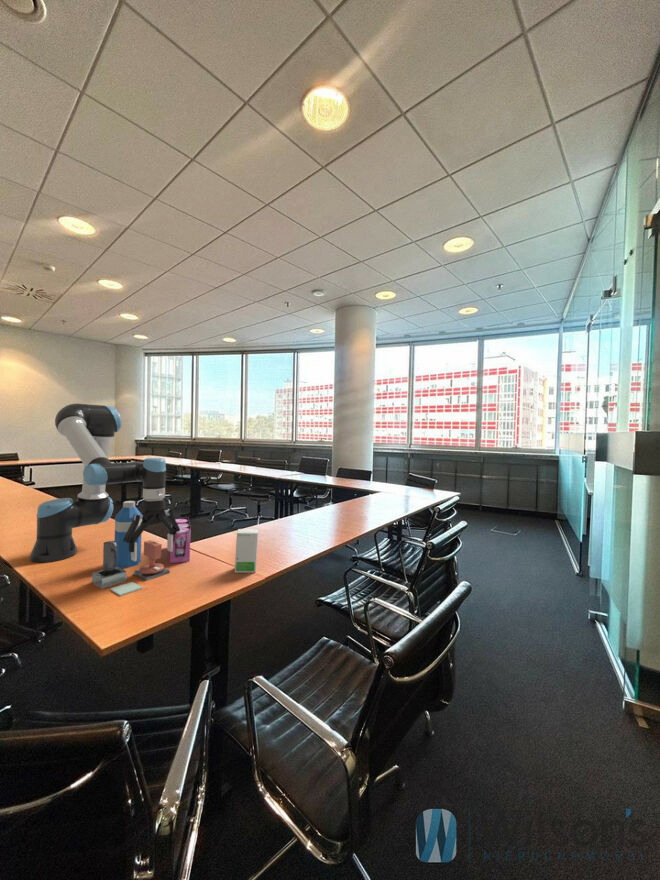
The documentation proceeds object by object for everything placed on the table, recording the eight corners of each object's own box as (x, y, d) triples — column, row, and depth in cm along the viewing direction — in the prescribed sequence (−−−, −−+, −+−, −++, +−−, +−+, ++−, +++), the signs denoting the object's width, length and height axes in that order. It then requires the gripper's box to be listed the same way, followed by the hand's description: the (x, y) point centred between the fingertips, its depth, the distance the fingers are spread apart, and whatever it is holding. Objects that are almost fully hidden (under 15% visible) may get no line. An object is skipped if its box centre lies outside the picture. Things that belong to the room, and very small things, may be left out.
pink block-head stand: (135, 570, 129) (136, 543, 129) (156, 564, 135) (157, 538, 135) (147, 576, 124) (148, 548, 124) (168, 569, 130) (169, 542, 130)
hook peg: (100, 582, 121) (101, 542, 121) (112, 578, 124) (113, 540, 124) (107, 586, 118) (108, 546, 117) (120, 583, 121) (121, 543, 121)
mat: (110, 590, 115) (110, 588, 115) (132, 583, 121) (132, 581, 121) (120, 596, 111) (120, 594, 111) (142, 588, 117) (142, 587, 117)
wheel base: (133, 574, 129) (133, 570, 129) (157, 567, 136) (157, 563, 136) (145, 580, 123) (146, 577, 123) (169, 572, 131) (169, 569, 131)
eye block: (91, 582, 120) (92, 572, 120) (116, 575, 127) (116, 566, 127) (101, 589, 116) (101, 578, 116) (126, 581, 122) (126, 571, 122)
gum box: (190, 562, 142) (191, 530, 142) (169, 565, 139) (170, 531, 139) (188, 545, 164) (189, 516, 164) (170, 546, 161) (171, 517, 160)
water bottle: (128, 569, 133) (130, 504, 133) (107, 566, 135) (109, 503, 135) (145, 560, 142) (147, 500, 142) (126, 558, 144) (128, 499, 144)
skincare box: (234, 573, 133) (235, 533, 132) (236, 566, 139) (237, 528, 139) (256, 572, 134) (257, 532, 134) (257, 566, 140) (258, 528, 140)
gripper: (123, 505, 117) (122, 567, 117) (189, 496, 137) (188, 549, 138) (113, 502, 121) (112, 562, 121) (179, 494, 142) (178, 545, 142)
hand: (152, 555), depth 130 cm, fingers open, 13 cm apart
